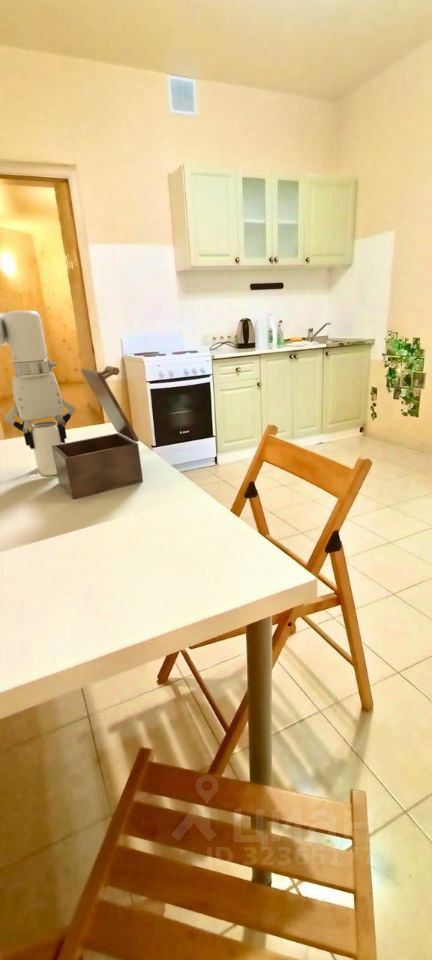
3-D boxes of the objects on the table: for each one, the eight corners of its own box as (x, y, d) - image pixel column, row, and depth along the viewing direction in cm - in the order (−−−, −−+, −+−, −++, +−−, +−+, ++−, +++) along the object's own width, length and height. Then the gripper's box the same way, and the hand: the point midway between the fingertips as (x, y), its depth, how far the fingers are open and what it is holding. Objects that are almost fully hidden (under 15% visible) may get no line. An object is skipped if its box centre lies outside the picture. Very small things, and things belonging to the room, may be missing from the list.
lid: (97, 374, 88) (120, 360, 90) (80, 369, 98) (100, 357, 100) (136, 442, 96) (156, 429, 98) (116, 431, 106) (135, 419, 108)
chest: (72, 499, 92) (65, 459, 89) (59, 482, 103) (51, 445, 100) (143, 481, 100) (138, 443, 96) (123, 467, 110) (118, 432, 107)
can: (48, 467, 114) (38, 421, 109) (71, 467, 112) (62, 420, 108) (33, 476, 108) (23, 427, 104) (57, 476, 106) (48, 427, 102)
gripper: (67, 363, 108) (79, 435, 115) (-12, 372, 100) (6, 448, 107) (75, 365, 102) (87, 441, 109) (-8, 374, 94) (11, 455, 100)
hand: (47, 444), depth 107 cm, fingers closed on can, 6 cm apart
